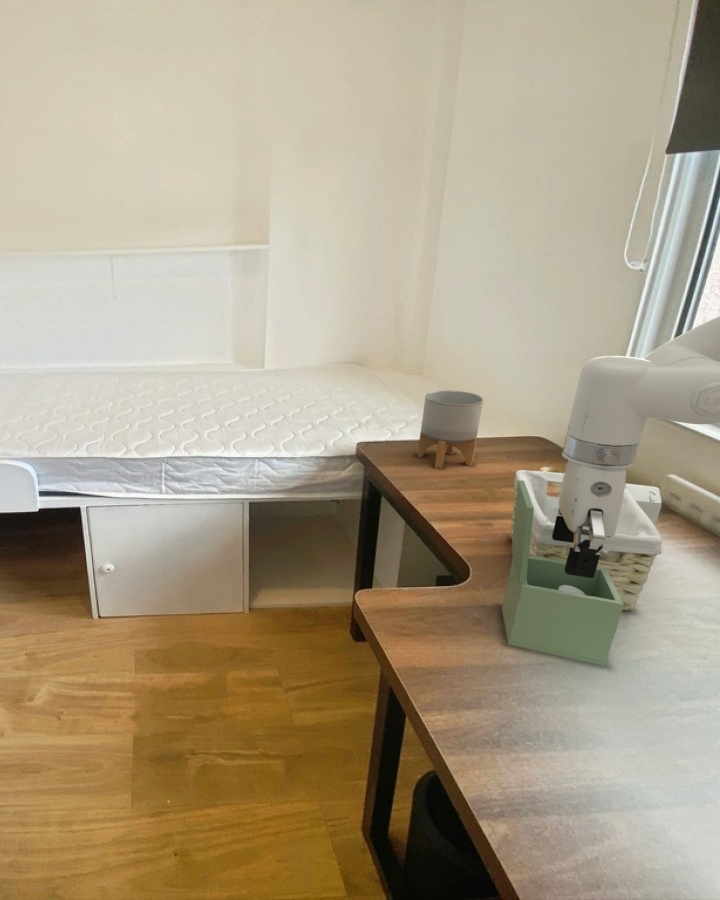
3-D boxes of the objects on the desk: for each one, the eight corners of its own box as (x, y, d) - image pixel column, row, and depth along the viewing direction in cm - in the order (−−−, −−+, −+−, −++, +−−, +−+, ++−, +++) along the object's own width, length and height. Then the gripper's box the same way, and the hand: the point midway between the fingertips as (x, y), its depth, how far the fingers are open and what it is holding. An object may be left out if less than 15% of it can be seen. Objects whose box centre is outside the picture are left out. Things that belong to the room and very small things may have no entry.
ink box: (609, 534, 111) (625, 481, 106) (643, 541, 108) (660, 486, 103) (610, 554, 105) (626, 498, 100) (645, 561, 102) (663, 504, 97)
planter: (476, 457, 149) (488, 394, 143) (465, 473, 141) (477, 407, 134) (424, 448, 158) (432, 388, 151) (411, 463, 149) (419, 400, 142)
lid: (524, 480, 84) (517, 480, 85) (534, 507, 77) (526, 507, 77) (517, 551, 88) (511, 550, 89) (525, 584, 81) (519, 583, 81)
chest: (589, 625, 87) (606, 568, 84) (604, 666, 80) (624, 604, 76) (501, 608, 93) (513, 553, 89) (508, 644, 85) (521, 586, 81)
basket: (643, 620, 88) (671, 540, 82) (520, 599, 94) (538, 523, 89) (599, 545, 108) (618, 476, 102) (500, 532, 114) (513, 467, 109)
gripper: (657, 477, 66) (621, 596, 72) (617, 430, 80) (589, 533, 86) (578, 470, 69) (550, 584, 76) (553, 426, 83) (531, 525, 90)
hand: (571, 557), depth 81 cm, fingers open, 9 cm apart
